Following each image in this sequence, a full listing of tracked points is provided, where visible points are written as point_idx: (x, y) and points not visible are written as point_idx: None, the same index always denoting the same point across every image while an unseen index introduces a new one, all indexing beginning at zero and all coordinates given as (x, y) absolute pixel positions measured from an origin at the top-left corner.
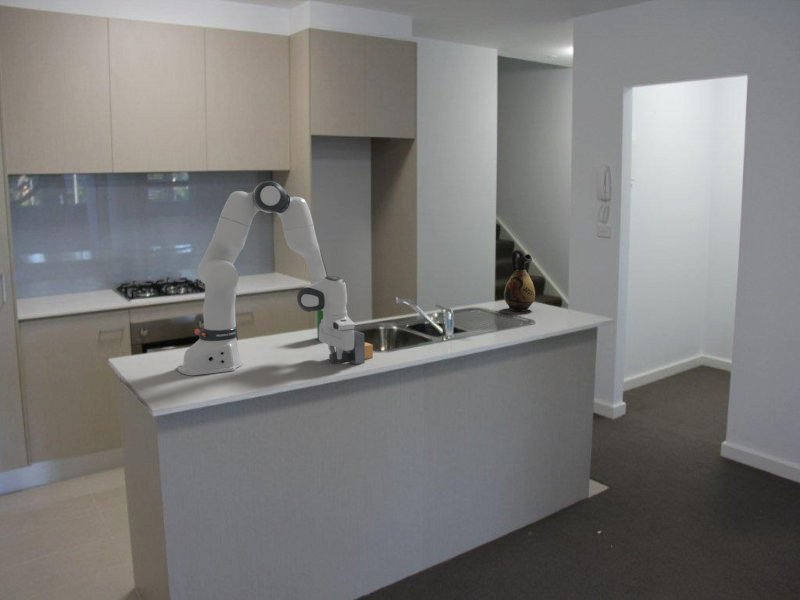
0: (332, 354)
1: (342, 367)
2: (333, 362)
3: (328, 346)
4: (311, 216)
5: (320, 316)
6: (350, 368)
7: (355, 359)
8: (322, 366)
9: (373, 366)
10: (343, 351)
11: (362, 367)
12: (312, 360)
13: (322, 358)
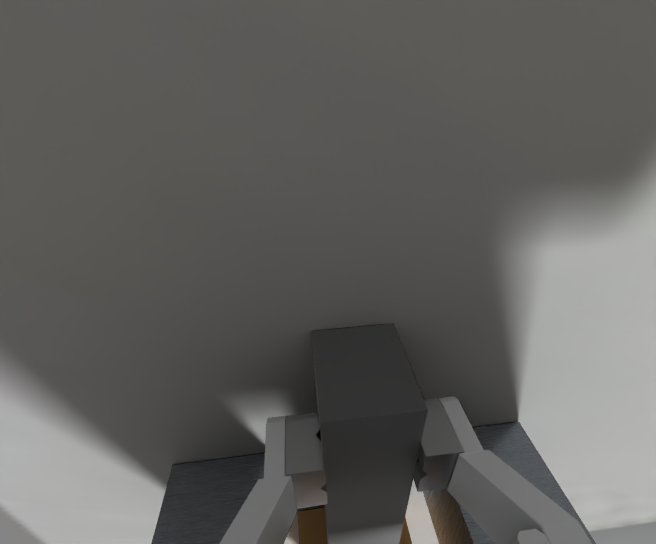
0: (390, 436)
1: (98, 361)
2: (314, 349)
3: (578, 534)
4: None
5: None
6: (26, 407)
7: (157, 521)
8: (257, 173)
9: (59, 528)
10: (451, 516)
11: (44, 479)
12: (631, 189)
13: (580, 318)
